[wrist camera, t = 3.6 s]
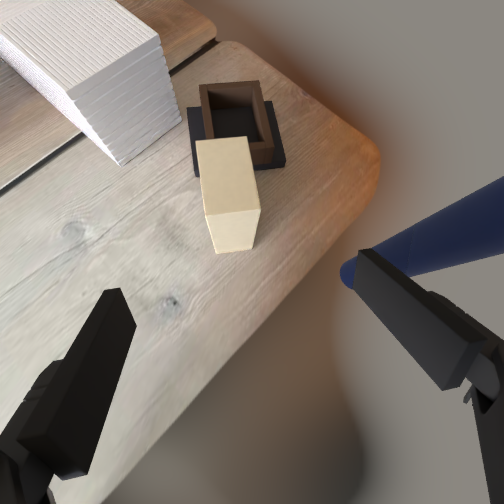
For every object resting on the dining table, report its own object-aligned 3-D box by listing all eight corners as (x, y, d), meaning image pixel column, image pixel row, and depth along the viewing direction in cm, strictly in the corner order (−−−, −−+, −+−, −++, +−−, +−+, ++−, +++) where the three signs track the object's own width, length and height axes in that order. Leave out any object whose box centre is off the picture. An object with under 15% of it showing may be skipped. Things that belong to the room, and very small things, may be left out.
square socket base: (270, 108, 36) (274, 79, 31) (284, 168, 33) (291, 145, 29) (188, 115, 34) (181, 85, 30) (196, 178, 32) (189, 155, 27)
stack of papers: (182, 121, 34) (158, 33, 24) (121, 167, 31) (65, 91, 21) (41, 5, 38) (-31, -112, 28) (-22, 37, 36) (-127, -79, 25)
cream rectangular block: (243, 198, 31) (246, 135, 21) (252, 249, 29) (261, 209, 19) (209, 202, 31) (195, 140, 20) (216, 254, 29) (205, 216, 18)
